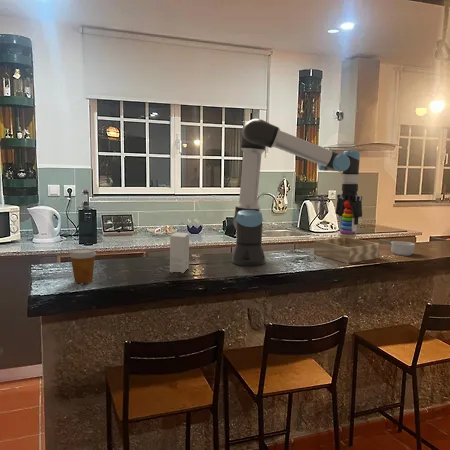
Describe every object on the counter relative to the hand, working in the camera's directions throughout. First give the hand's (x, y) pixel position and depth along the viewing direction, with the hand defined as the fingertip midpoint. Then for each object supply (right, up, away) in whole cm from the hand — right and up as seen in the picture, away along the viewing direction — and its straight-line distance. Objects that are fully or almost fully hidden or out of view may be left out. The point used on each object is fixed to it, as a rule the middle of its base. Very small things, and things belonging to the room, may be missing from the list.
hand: (347, 230), depth 214 cm
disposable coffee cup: (-114, -19, -49) cm, 125 cm away
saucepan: (+28, -12, +13) cm, 33 cm away
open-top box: (0, -13, +2) cm, 13 cm away
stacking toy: (0, -4, 0) cm, 4 cm away
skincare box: (-79, -17, -31) cm, 86 cm away
